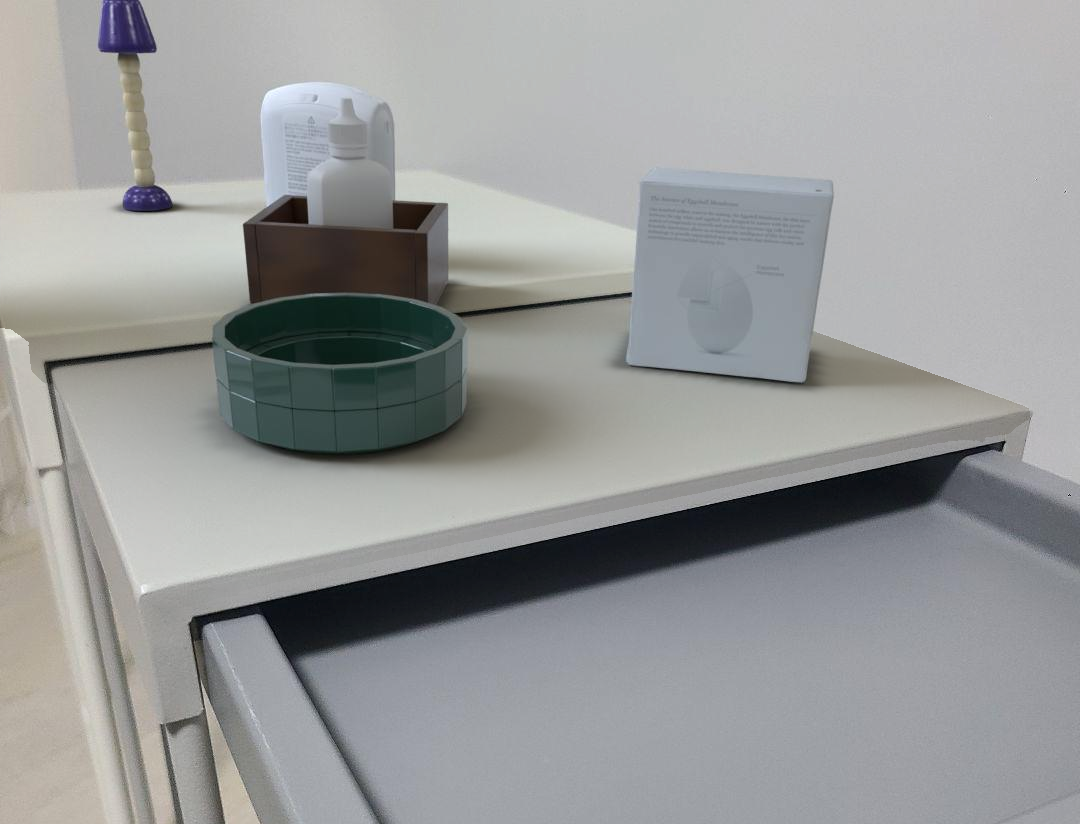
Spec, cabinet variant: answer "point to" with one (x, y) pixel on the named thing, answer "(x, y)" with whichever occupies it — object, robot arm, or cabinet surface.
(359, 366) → the bowl
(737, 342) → the cosmetics box
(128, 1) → the toy lamp
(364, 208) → the eye dropper bottle
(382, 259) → the holder
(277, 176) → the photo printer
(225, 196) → the cabinet surface
